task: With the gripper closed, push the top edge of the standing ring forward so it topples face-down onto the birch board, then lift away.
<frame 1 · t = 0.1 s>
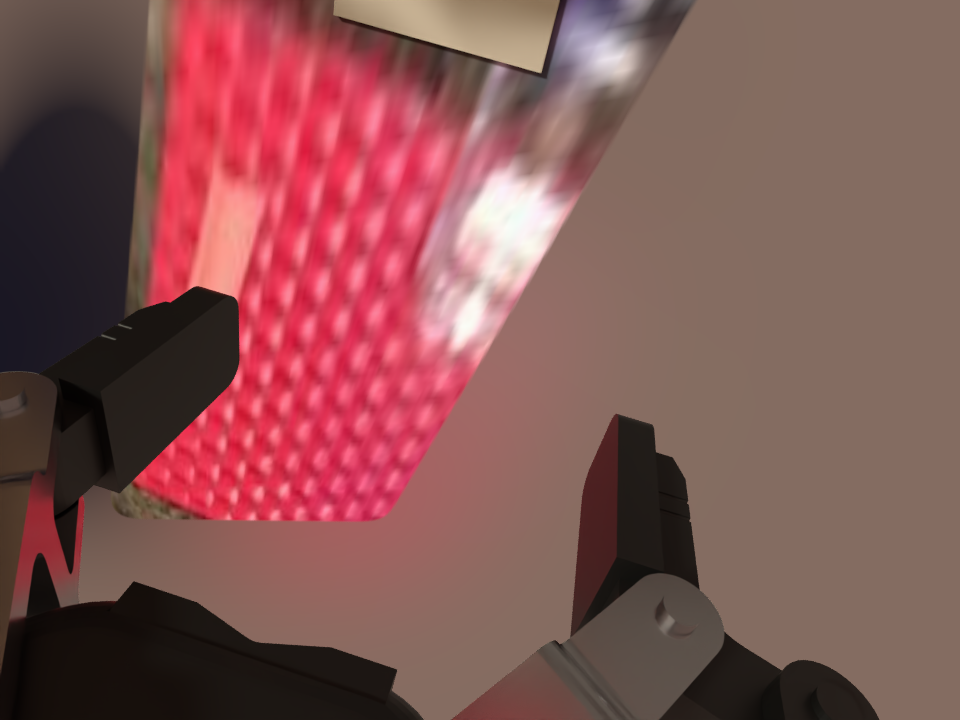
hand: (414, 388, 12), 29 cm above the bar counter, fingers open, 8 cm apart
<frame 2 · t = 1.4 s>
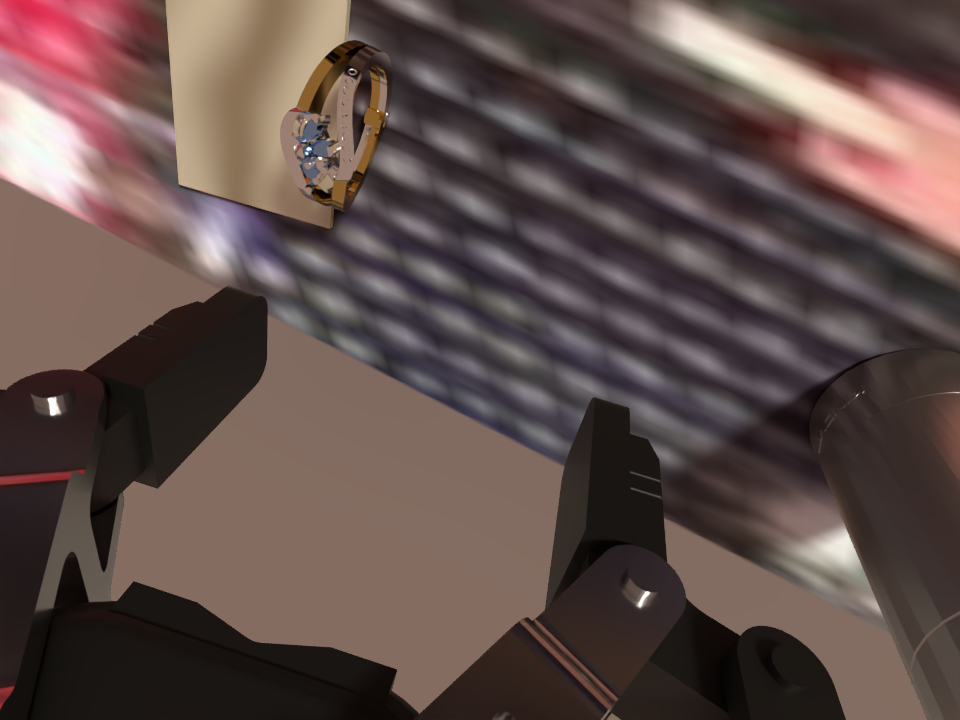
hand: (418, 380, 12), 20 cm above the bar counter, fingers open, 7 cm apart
birch board: (258, 81, 29), on the bar counter
ring: (381, 115, 29), on the bar counter
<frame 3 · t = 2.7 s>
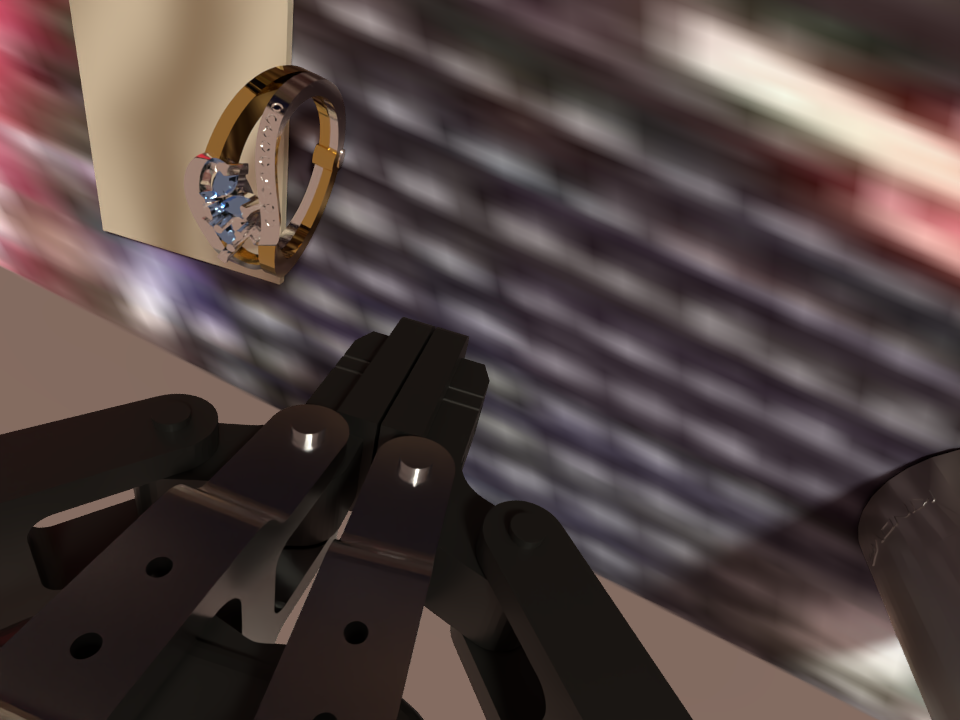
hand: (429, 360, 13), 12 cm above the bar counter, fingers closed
birch board: (187, 111, 24), on the bar counter
ring: (336, 152, 24), on the bar counter
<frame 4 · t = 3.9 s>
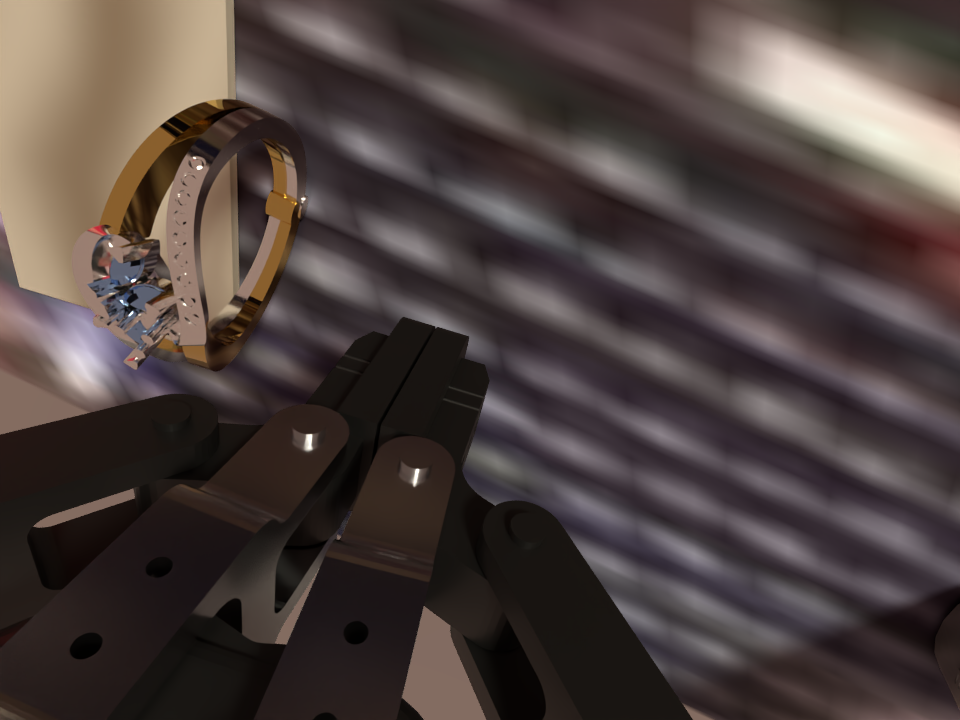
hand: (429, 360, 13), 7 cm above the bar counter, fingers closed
birch board: (110, 147, 19), on the bar counter
ring: (298, 198, 19), on the bar counter
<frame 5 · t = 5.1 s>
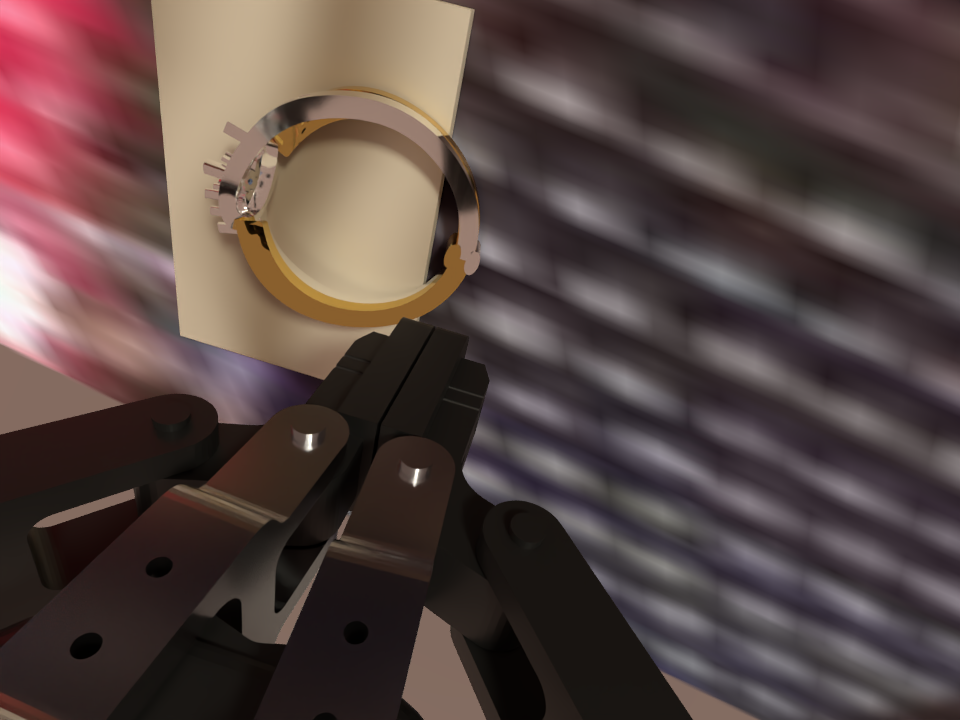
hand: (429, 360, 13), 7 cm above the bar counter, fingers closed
birch board: (301, 202, 19), on the bar counter
ring: (484, 261, 18), on the bar counter, touching birch board
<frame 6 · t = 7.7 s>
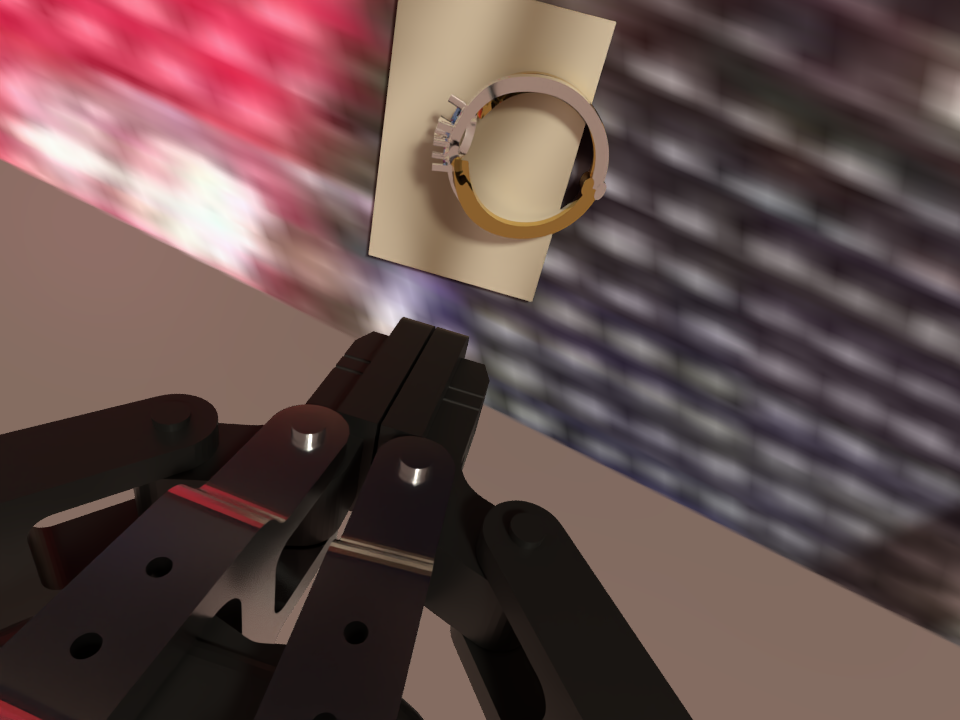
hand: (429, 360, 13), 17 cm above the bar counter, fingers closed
birch board: (476, 152, 28), on the bar counter
ring: (606, 191, 27), resting on birch board
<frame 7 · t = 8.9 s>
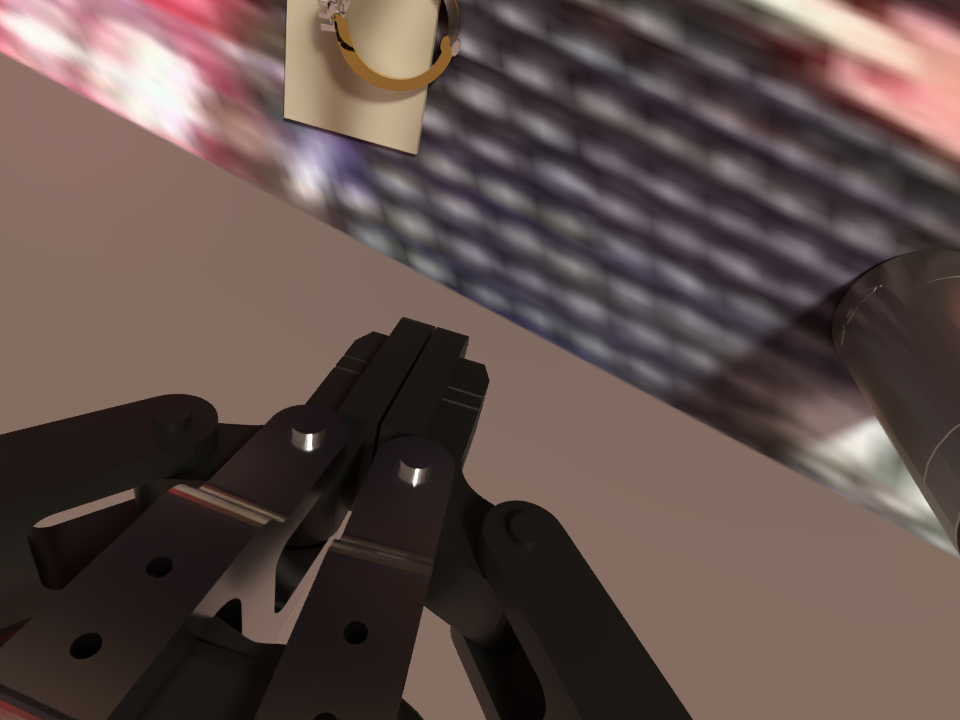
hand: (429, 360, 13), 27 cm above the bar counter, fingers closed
birch board: (361, 22, 35), on the bar counter
ring: (462, 49, 34), resting on birch board
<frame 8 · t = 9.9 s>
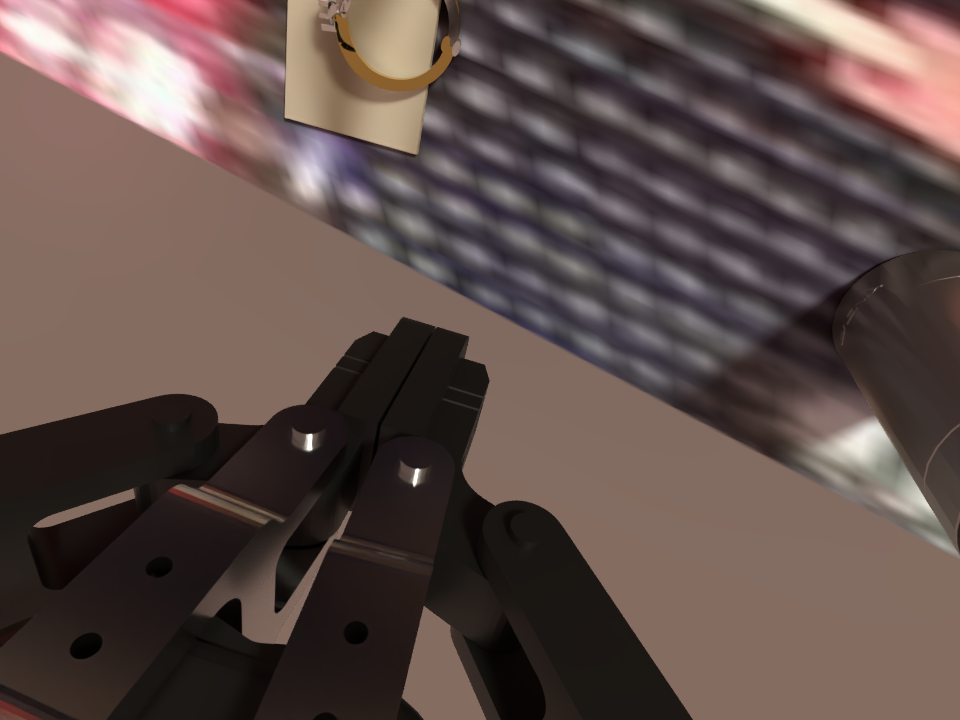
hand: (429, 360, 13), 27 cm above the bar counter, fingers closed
birch board: (362, 22, 35), on the bar counter
ring: (463, 50, 34), resting on birch board
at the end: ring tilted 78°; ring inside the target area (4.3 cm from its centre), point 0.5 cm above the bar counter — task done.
